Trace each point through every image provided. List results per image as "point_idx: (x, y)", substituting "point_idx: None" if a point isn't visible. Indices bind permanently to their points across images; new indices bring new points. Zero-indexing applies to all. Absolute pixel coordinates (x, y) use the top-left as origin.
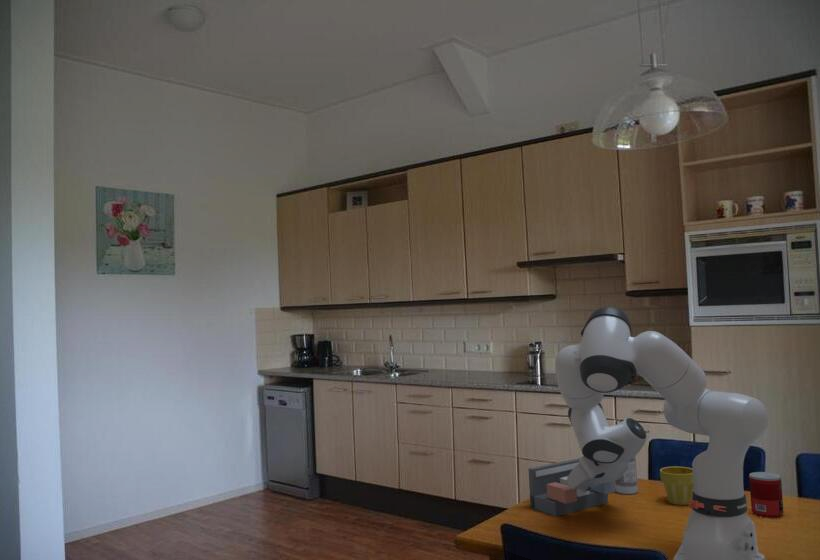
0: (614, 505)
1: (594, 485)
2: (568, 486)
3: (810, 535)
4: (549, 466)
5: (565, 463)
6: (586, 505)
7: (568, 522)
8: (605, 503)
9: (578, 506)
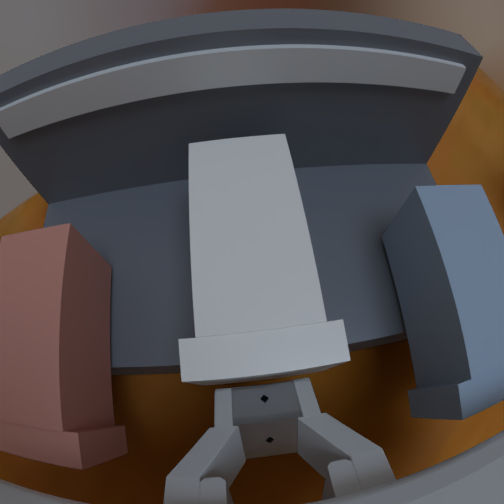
0: None
1: (323, 476)
2: (48, 398)
3: None
4: (108, 53)
5: (303, 32)
6: None
7: (68, 470)
8: None
9: None
